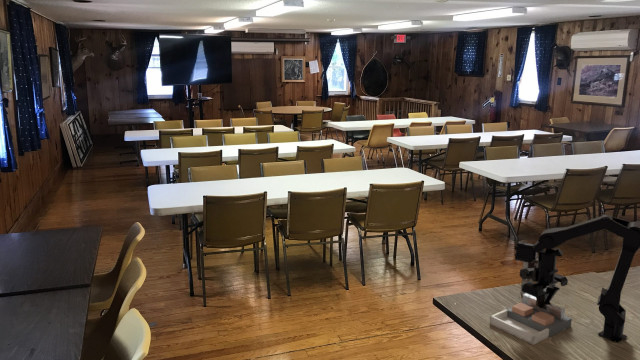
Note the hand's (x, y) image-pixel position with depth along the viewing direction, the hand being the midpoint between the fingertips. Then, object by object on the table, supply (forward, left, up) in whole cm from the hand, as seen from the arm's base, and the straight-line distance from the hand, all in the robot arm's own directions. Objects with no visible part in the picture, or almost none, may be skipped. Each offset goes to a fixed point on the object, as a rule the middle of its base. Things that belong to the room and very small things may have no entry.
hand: (542, 306), depth 178 cm
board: (+2, 0, -5) cm, 6 cm away
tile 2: (+6, +4, -2) cm, 7 cm away
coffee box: (-15, -13, -5) cm, 21 cm away
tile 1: (+6, -4, -2) cm, 7 cm away
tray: (+13, 0, -5) cm, 14 cm away
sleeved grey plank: (0, 0, -2) cm, 2 cm away
